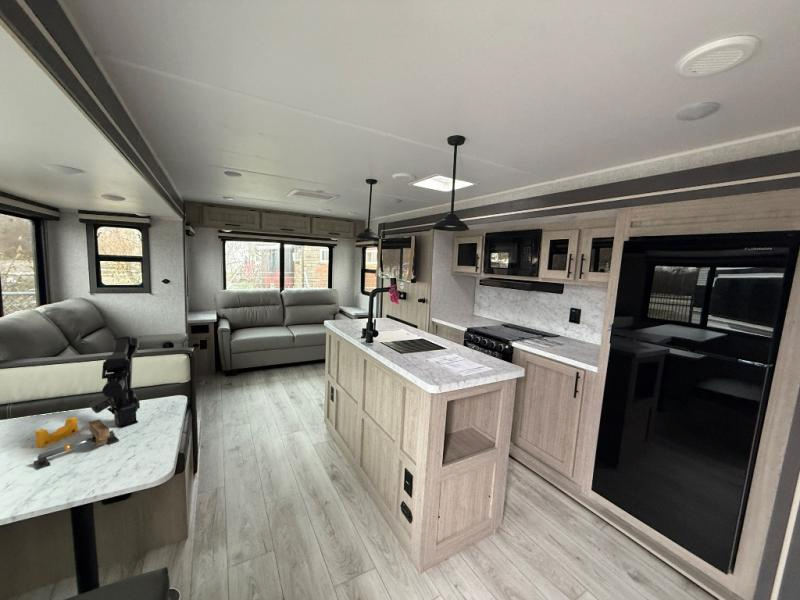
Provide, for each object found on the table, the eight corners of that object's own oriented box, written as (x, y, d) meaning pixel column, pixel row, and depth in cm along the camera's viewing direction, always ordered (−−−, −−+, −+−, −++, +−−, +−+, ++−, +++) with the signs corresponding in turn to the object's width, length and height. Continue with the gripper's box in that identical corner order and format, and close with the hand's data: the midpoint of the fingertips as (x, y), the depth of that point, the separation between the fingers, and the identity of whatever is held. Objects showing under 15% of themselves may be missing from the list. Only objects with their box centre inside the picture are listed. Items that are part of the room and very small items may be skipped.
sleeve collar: (99, 436, 130) (98, 419, 130) (110, 446, 124) (109, 428, 123) (89, 439, 128) (88, 422, 127) (100, 449, 122) (98, 431, 121)
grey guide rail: (113, 436, 132) (113, 427, 131) (119, 441, 129) (118, 431, 128) (33, 463, 113) (32, 452, 113) (37, 469, 110) (36, 458, 110)
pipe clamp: (69, 431, 135) (68, 416, 134) (77, 432, 134) (76, 417, 134) (32, 446, 123) (31, 431, 123) (42, 448, 123) (40, 432, 122)
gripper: (83, 388, 127) (86, 425, 129) (99, 400, 118) (102, 440, 119) (119, 380, 137) (121, 415, 139) (136, 391, 127) (138, 428, 129)
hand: (120, 424), depth 131 cm, fingers closed
